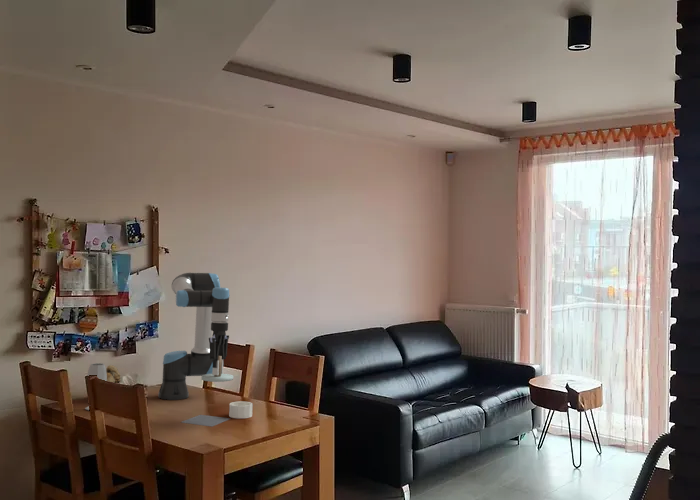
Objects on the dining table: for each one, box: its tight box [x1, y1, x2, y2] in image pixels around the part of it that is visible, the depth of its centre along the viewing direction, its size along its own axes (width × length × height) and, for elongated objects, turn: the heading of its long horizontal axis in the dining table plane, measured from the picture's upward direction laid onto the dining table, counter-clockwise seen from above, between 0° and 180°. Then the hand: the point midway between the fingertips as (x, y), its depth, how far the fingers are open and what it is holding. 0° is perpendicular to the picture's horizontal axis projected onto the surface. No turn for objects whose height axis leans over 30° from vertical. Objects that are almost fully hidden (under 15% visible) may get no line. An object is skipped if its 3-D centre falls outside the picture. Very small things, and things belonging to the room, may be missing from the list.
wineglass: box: [84, 362, 107, 411], centre depth 307 cm, size 9×9×21 cm
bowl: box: [228, 401, 253, 419], centre depth 303 cm, size 10×10×6 cm
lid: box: [201, 355, 234, 383], centre depth 295 cm, size 14×14×10 cm
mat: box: [180, 414, 231, 427], centre depth 291 cm, size 16×16×1 cm
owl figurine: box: [106, 364, 121, 384], centre depth 329 cm, size 18×12×17 cm, turn 21°
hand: (217, 374), depth 295 cm, fingers closed on lid, 3 cm apart
